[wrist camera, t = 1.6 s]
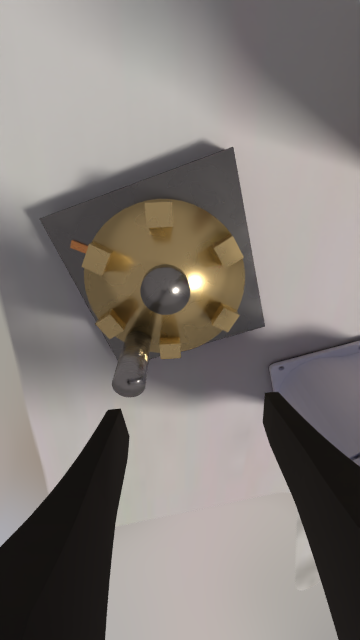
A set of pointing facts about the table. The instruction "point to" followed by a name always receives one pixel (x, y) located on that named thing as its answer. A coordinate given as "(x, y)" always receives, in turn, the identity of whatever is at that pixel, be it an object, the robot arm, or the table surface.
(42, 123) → the table surface
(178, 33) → the table surface
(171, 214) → the gold round piece
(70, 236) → the base plate
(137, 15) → the table surface
